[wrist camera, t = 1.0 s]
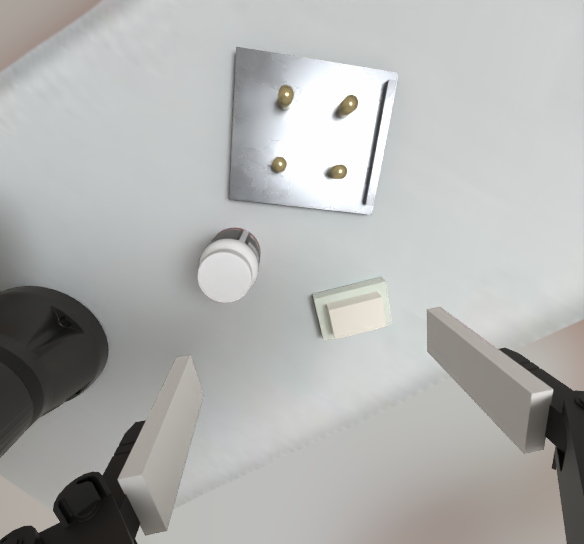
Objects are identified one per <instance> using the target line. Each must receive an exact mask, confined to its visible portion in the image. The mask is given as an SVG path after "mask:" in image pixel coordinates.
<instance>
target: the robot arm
mask: <svg viewBox="0 0 584 544" xmlns="http://www.w3.org/2000/svg"><path fill="white" fill-rule="evenodd" d="M427 352H428V353H429V354H430V355H431V356H432V357H433V358H434V359H435V360H436V361H437V362H438V363H439V364H440V365H441V367H442V368H443V369H444V370H445V371H446V372H447V373H448V374H449V375H450V376H451V377H452V378H453V379H454V380H455V381H456V382H457V383H458V385H460V386H461V388H462V389H463V390H464V391H465V392H466V393H467V394H468V395H469V396H470V397H471V398H472V399H473V400H474V401H475V403H477V405H478V406H479V407H480V408H481V409H482V410H483V411H484V412H485V413H486V414H487V415H488V416H489V417H490V418H491V419H492V421H493V422H495V424H496V425H497V426H498V427H499V428H500V429H501V430H502V431H503V432H504V433H505V434H506V435H507V436H508V437H509V438H510V440H511V441H513V443H514V444H515V445H516V446H517V447H518V448H519V449H520V450H521V451H522V452H523V453H524V454H525V453H530V452H535V451H540V450H544V445H545V439H546V437H547V438H548V439H549V440H550V441H551V442H552V443H553V444H554V445H555V446H556V447H555V453H554V459H553V464H552V469H555V470H556V468H557V475H558V482H559V489H560V497H561V504H562V511H563V519H564V526H565V533H566V540H567V544H584V391H573V390H571V389H570V388H569V387H567V386H566V385H564V384H563V383H561V382H560V381H558V380H557V379H555V378H554V377H552V376H551V375H550V374H548V373H547V372H545V371H544V370H542V369H539V367H538V366H536V365H535V364H534V363H532V362H530V361H529V360H528V359H526V358H525V357H523V356H522V355H520V354H519V353H517V352H514V351H512V350H509V349H507V348H501V349H497V348H496V347H495V346H493V345H492V344H490V343H489V342H488V341H486V340H485V339H484V338H482V337H481V336H480V335H478V334H477V333H475V332H474V331H473V330H471V329H470V328H469V327H467V326H466V325H464V324H463V323H462V322H460V321H459V320H458V319H456V318H455V317H453V316H452V315H451V314H449V313H448V312H447V311H445V310H444V309H442V308H441V307H437V308H431V309H427ZM107 357H108V344H107V339H106V336H105V333H104V331H103V329H102V327H101V325H100V323H99V322H98V320H97V319H96V318H95V316H94V315H93V314H92V313H91V312H90V311H89V310H88V309H87V308H86V307H84V306H83V305H82V304H81V303H79V302H78V301H76V300H75V299H73V298H71V297H69V296H67V295H65V294H63V293H61V292H58V291H55V290H52V289H48V288H43V287H35V286H23V287H16V288H11V289H8V290H5V291H3V292H0V457H1V456H2V455H3V454H4V453H5V452H6V451H7V450H8V449H9V448H10V447H11V446H12V445H13V444H14V443H15V442H16V441H17V440H18V439H19V437H20V436H21V435H22V434H23V433H24V432H25V431H26V430H27V429H28V428H29V427H30V426H31V425H32V424H33V423H34V422H35V421H36V420H37V419H38V418H40V417H41V416H43V415H45V414H47V413H48V412H50V411H52V410H54V409H55V408H57V407H59V406H60V405H62V404H63V403H64V402H66V401H69V400H71V399H73V398H75V397H76V396H78V395H80V394H81V393H82V392H84V391H85V390H86V389H87V388H88V387H89V386H90V385H91V384H92V383H93V382H94V380H95V379H96V378H97V377H98V376H99V375H100V373H101V372H102V370H103V369H104V367H105V364H106V361H107ZM203 397H204V395H203V392H202V389H201V386H200V383H199V380H198V376H197V373H196V370H195V367H194V364H193V361H192V358H191V355H187V356H182V357H177V358H176V359H175V361H174V363H173V365H172V368H171V370H170V372H169V374H168V376H167V378H166V380H165V382H164V384H163V386H162V388H161V390H160V392H159V394H158V397H157V399H156V401H155V403H154V405H153V407H152V409H151V411H150V413H149V415H148V417H147V419H146V420H145V421H140V422H135V423H134V424H133V426H132V427H131V428H130V429H129V430H128V431H127V432H126V433H125V435H124V437H123V438H122V440H121V442H120V444H119V447H118V448H117V450H116V451H115V453H114V457H112V459H111V461H110V463H109V464H108V466H107V468H106V470H105V472H104V474H103V476H102V475H101V474H100V473H99V472H90V473H86V474H84V475H82V476H80V477H78V478H76V479H75V480H73V481H72V482H71V483H70V484H69V485H67V486H66V487H65V488H64V489H63V491H62V492H61V493H60V494H59V495H58V497H57V499H56V501H55V503H54V507H53V511H54V513H55V515H56V516H57V518H58V519H59V521H60V523H58V524H56V525H54V526H52V527H50V528H48V529H46V530H44V531H42V532H40V533H38V532H37V530H36V529H35V528H34V527H32V526H23V527H21V528H18V529H16V530H14V531H12V532H11V533H9V534H8V535H6V536H5V537H3V538H2V539H1V540H0V544H137V542H136V540H135V537H136V534H137V531H138V528H139V526H141V528H142V530H143V532H144V534H145V535H150V534H154V533H159V532H163V531H167V529H168V525H169V522H170V518H171V514H172V511H173V507H174V503H175V500H176V496H177V492H178V489H179V485H180V481H181V478H182V474H183V470H184V467H185V463H186V459H187V456H188V452H189V448H190V445H191V441H192V437H193V434H194V430H195V426H196V423H197V419H198V415H199V411H200V408H201V404H202V400H203Z"/></svg>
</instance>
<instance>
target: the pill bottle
mask: <svg viewBox="0 0 584 544" xmlns="http://www.w3.org/2000/svg"><path fill="white" fill-rule="evenodd" d="M259 262H260V246H259V243H258V241H257V239H256V238H255V237H254V236H253V235H252V234H251V233H250V232H248V231H246V230H244V229H241V228H229V229H226V230H224V231H222V232H220V233H219V234H218V235H217V236H216V237H215V238H214V239H213V240H212V242H211V243H210V244H209V245H208V246H207V247H206V248H205V250H204V251H203V253H202V255H201V257H200V260H199V269H198V273H197V279H198V284H199V286H200V288H201V290H202V291H203V293H204V294H205V295H206V296H208V297H209V298H210V299H212V300H214V301H217V302H222V303H229V302H234V301H237V300H239V299H240V298H242V297H243V296H244V295H245V294H246V293H247V292H248V290H249V288H250V287H251V286H252V285H253V284H254V282H255V280H256V278H257V275H258V271H259Z"/></svg>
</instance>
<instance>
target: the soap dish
mask: <svg viewBox="0 0 584 544" xmlns="http://www.w3.org/2000/svg"><path fill="white" fill-rule="evenodd" d="M312 295H313V299H314V304H315V308H316V312H317V316H318V320H319V325H320V329H321V333H322V337H323V340H324V341H326V340H330V339H334V338H335V339H338V338H342V337H346V336H350V335H355V334H359V333H363V332H367V331H371V330H375V329H379V328H383V327H387V325H390V324H392V318H391V312H390V305H389V298H388V291H387V284H386V281H385V280H384V279H383V278H382V277H379V278H375V279H371V280H367V281H363V282H359V283H355V284H351V285H347V286H343V287H339V288H335V289H331V290H327V291H323V292H319V293H315V294H312Z"/></svg>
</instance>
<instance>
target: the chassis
mask: <svg viewBox="0 0 584 544" xmlns="http://www.w3.org/2000/svg"><path fill="white" fill-rule="evenodd" d="M398 75H399V73H397V72H391V71H385V70H378V69H372V68H366V67H360V66H353V65H347V64H341V63H335V62H328V61H322V60H316V59H310V58H303V57H297V56H291V55H285V54H278V53H272V52H266V51H259V50H253V49H247V48H241V47H236V63H235V85H234V106H233V128H232V150H231V171H230V193H229V199H233V200H243V201H252V202H261V203H270V204H279V205H288V206H297V207H307V208H316V209H325V210H334V211H343V212H352V213H362V214H371V215H372V210H373V205H374V200H375V195H376V189H377V184H378V179H379V174H380V169H381V163H382V158H383V153H384V148H385V143H386V137H387V132H388V127H389V122H390V116H391V111H392V106H393V101H394V96H395V90H396V85H397V80H398Z"/></svg>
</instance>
